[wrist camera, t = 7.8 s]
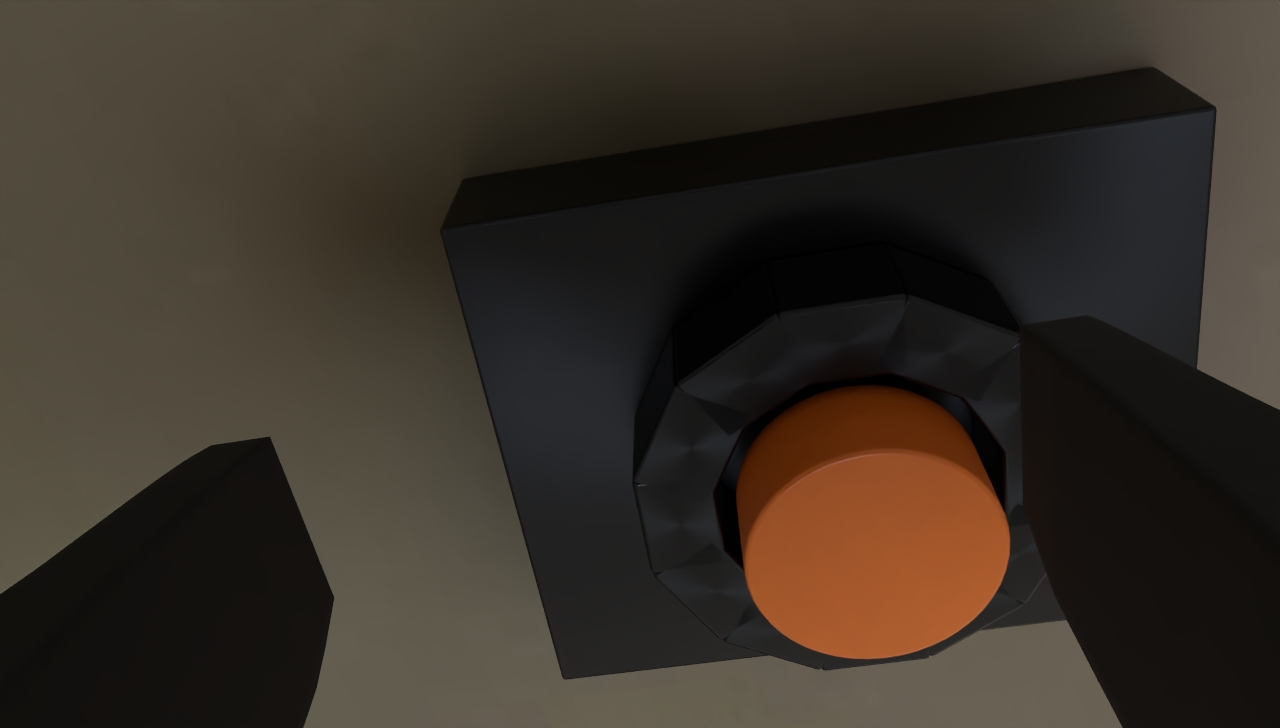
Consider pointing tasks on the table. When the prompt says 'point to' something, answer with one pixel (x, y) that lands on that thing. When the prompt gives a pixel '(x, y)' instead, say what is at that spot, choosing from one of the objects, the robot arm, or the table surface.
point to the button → (869, 523)
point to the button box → (802, 326)
